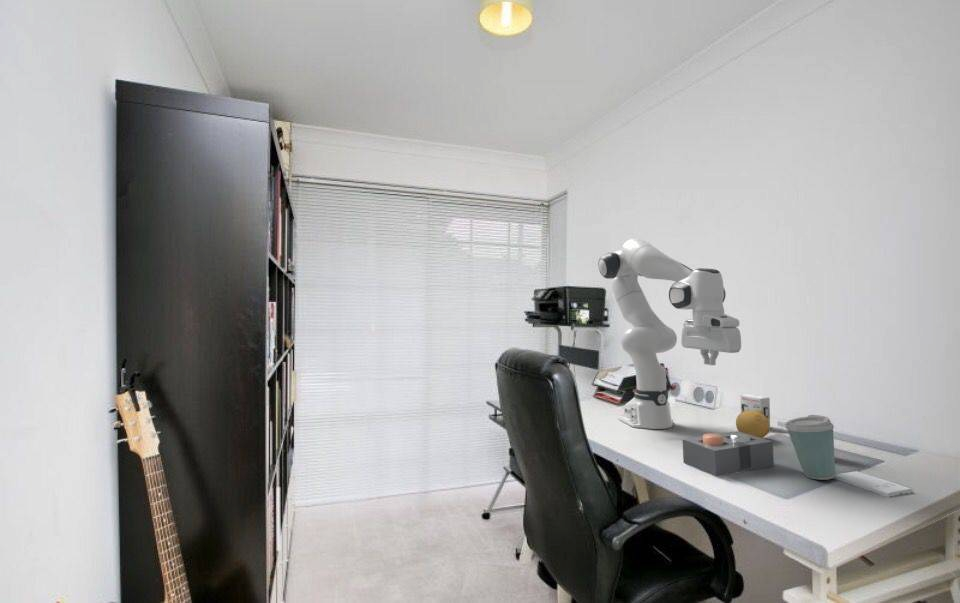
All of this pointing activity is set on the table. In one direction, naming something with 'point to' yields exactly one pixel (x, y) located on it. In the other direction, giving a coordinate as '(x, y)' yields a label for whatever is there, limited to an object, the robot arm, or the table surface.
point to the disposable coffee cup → (813, 445)
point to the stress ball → (752, 423)
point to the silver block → (740, 437)
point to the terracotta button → (713, 439)
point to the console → (728, 455)
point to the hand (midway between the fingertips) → (709, 364)
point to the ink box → (756, 404)
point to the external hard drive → (872, 483)
